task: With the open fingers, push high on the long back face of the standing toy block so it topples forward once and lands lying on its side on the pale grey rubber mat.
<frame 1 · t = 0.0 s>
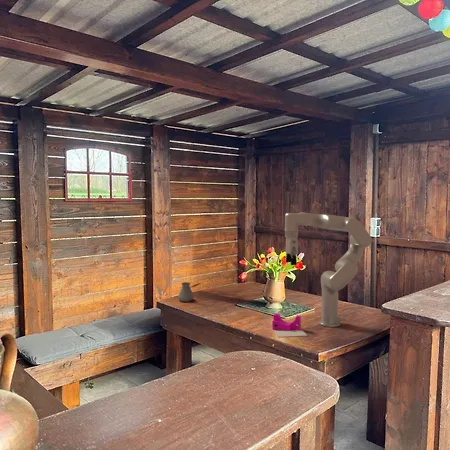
hand: (291, 263, 233), 37 cm above the table, tool pointing down, fingers open, 9 cm apart
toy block: (286, 329, 229), on the table, touching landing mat
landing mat: (290, 333, 221), on the table
coffee pot: (190, 302, 289), on the table
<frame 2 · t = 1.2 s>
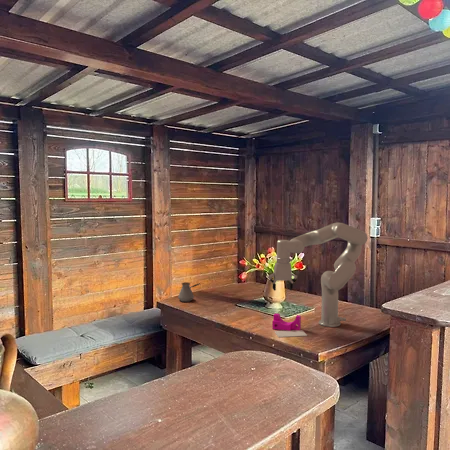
hand: (282, 289, 235), 21 cm above the table, tool pointing down, fingers open, 9 cm apart
nothing on the table moved.
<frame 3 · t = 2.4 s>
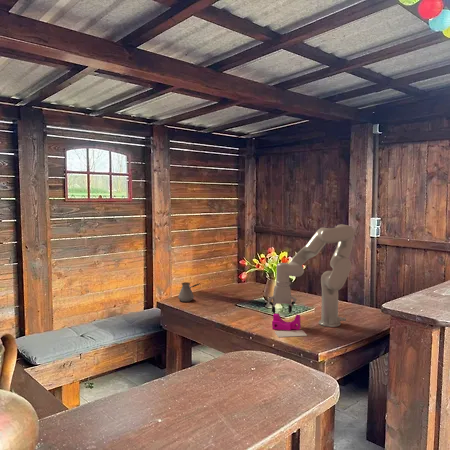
hand: (281, 312, 236), 7 cm above the table, tool pointing down, fingers open, 9 cm apart
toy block: (286, 328, 229), on the table, touching gripper
everything else where it was.
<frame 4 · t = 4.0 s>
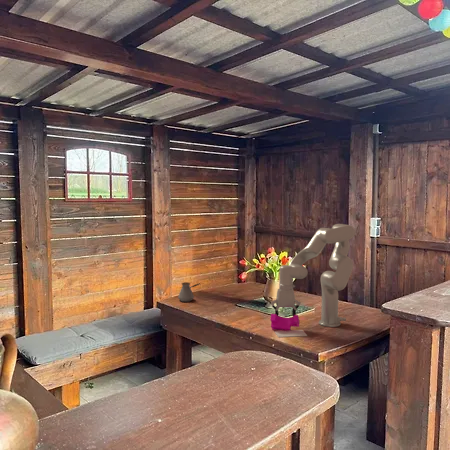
hand: (285, 316, 229), 7 cm above the table, tool pointing down, fingers open, 9 cm apart
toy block: (285, 325, 228), point 3 cm above the table, touching gripper, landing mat
everything else where it was.
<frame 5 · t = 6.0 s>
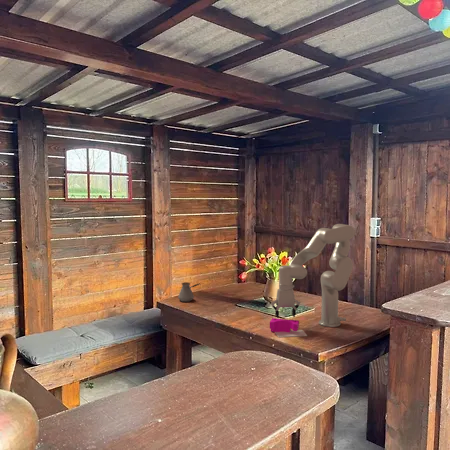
hand: (285, 316, 231), 7 cm above the table, tool pointing down, fingers open, 9 cm apart
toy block: (285, 324, 226), point 4 cm above the table, touching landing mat
everything else where it was.
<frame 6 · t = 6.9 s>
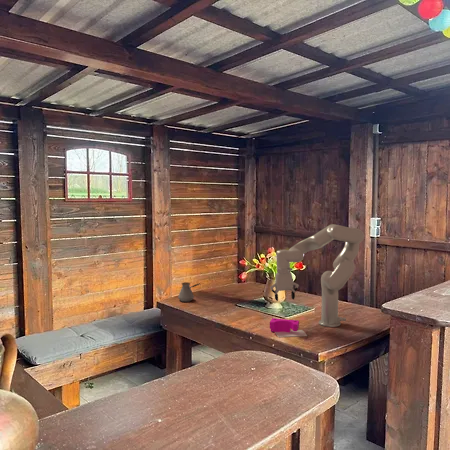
hand: (284, 299, 236), 15 cm above the table, tool pointing down, fingers open, 9 cm apart
nothing on the table moved.
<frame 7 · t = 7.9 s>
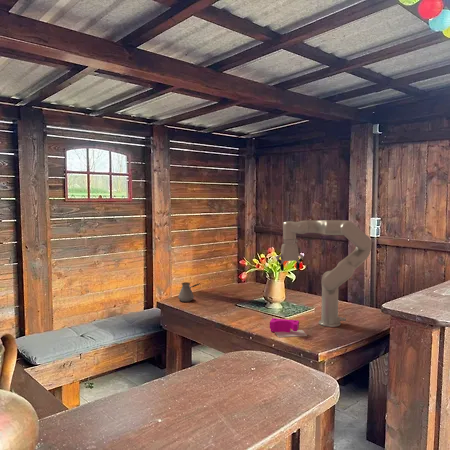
hand: (290, 270, 242), 31 cm above the table, tool pointing down, fingers open, 9 cm apart
nothing on the table moved.
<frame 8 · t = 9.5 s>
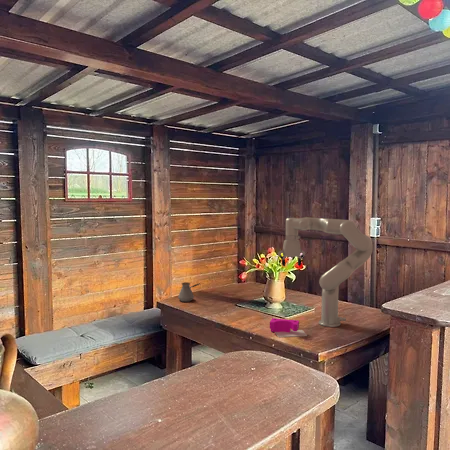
hand: (291, 265, 245), 33 cm above the table, tool pointing down, fingers open, 9 cm apart
nothing on the table moved.
at the end: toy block tilted 90°; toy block inside the target area (3.3 cm from its centre), point 3.5 cm above the table; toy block touching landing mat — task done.
